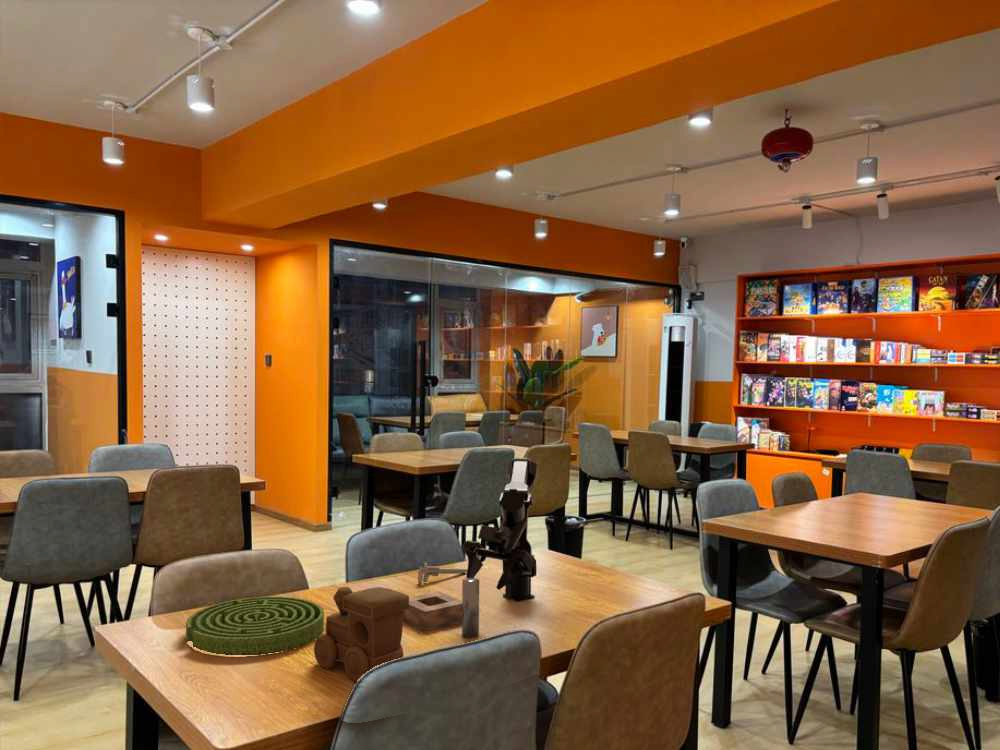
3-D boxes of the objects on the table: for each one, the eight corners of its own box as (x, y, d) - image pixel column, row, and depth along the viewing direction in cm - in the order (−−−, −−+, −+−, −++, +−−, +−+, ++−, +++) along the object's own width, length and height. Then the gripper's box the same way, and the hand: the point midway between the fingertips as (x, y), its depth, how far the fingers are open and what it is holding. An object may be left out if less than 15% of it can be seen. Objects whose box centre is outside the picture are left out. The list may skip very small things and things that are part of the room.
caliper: (420, 585, 226) (420, 564, 226) (417, 584, 227) (417, 563, 227) (472, 573, 240) (472, 552, 240) (470, 572, 241) (470, 552, 241)
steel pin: (472, 631, 187) (472, 577, 187) (482, 636, 184) (482, 580, 183) (458, 634, 184) (459, 579, 184) (468, 639, 181) (469, 583, 181)
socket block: (439, 606, 206) (439, 589, 206) (471, 620, 195) (471, 602, 195) (393, 616, 197) (393, 599, 197) (423, 631, 186) (424, 613, 186)
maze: (167, 631, 186) (167, 610, 186) (289, 606, 206) (289, 587, 206) (214, 670, 162) (214, 646, 162) (347, 638, 182) (347, 617, 182)
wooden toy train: (412, 674, 161) (413, 593, 161) (368, 691, 152) (369, 606, 152) (351, 650, 174) (352, 575, 174) (308, 664, 165) (308, 586, 165)
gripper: (466, 508, 197) (437, 560, 188) (527, 517, 186) (499, 572, 177) (485, 534, 203) (457, 585, 194) (545, 544, 192) (519, 599, 183)
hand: (482, 585), depth 187 cm, fingers open, 9 cm apart
